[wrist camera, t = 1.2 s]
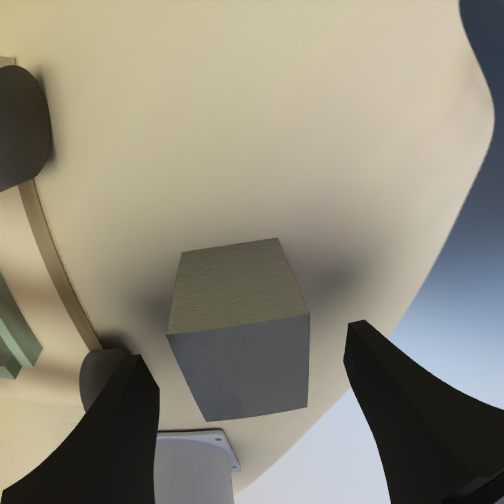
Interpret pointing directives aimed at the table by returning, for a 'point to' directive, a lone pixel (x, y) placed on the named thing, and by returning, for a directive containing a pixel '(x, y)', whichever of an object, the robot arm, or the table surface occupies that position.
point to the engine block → (240, 330)
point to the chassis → (38, 269)
